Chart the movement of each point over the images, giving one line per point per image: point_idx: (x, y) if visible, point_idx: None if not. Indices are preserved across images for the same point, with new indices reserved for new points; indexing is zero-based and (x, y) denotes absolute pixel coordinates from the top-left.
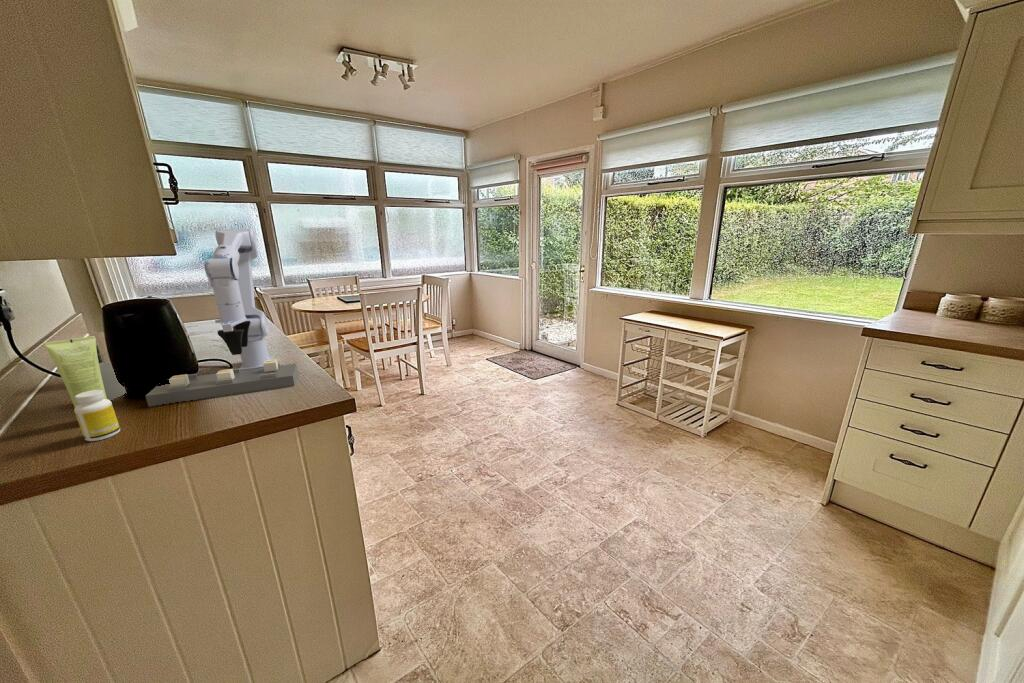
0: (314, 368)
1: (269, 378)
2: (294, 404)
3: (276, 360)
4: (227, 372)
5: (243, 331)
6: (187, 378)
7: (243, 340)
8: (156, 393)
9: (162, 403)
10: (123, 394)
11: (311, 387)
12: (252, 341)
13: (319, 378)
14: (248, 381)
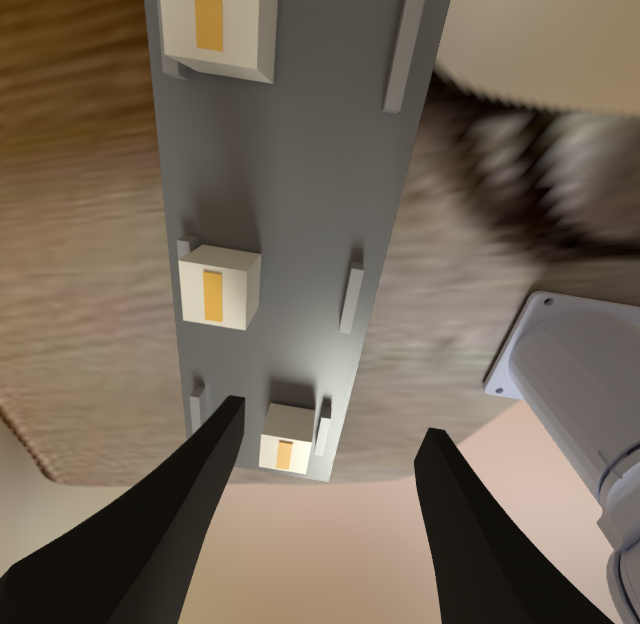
0: (345, 482)
1: (188, 407)
2: (53, 411)
3: (291, 470)
4: (183, 310)
5: (454, 608)
6: (244, 72)
7: (432, 501)
8: None
9: None
10: None
11: (170, 454)
12: (600, 478)
13: (238, 477)
14: (181, 350)
